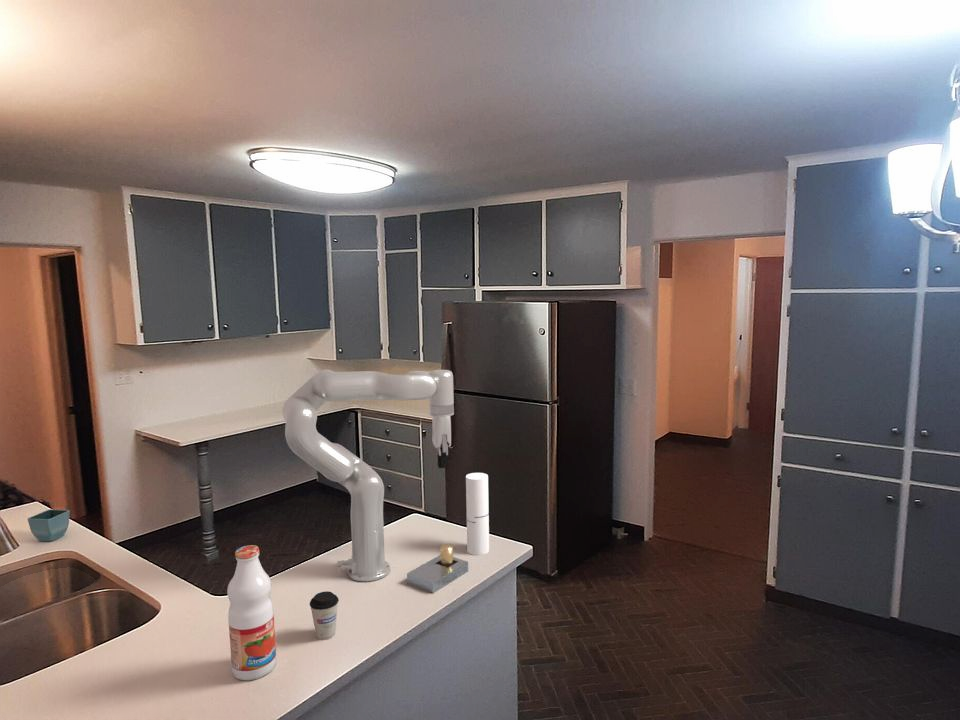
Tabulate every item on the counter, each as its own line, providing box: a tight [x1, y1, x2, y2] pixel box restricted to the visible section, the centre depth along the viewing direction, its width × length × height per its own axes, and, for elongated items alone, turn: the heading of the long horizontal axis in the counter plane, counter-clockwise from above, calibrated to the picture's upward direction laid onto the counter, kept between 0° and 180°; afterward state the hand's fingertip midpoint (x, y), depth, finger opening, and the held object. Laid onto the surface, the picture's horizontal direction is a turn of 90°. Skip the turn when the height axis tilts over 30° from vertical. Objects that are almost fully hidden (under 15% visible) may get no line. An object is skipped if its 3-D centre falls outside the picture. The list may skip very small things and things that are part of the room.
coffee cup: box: [309, 590, 340, 641], centre depth 145 cm, size 7×7×10 cm
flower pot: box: [27, 509, 70, 542], centre depth 205 cm, size 9×9×9 cm
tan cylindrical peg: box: [439, 543, 454, 568], centre depth 176 cm, size 4×4×8 cm
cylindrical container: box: [465, 472, 490, 556], centre depth 190 cm, size 7×7×25 cm
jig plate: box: [406, 554, 469, 594], centre depth 173 cm, size 16×10×3 cm, turn 143°
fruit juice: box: [226, 544, 277, 681], centre depth 131 cm, size 9×9×28 cm
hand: (443, 467), depth 185 cm, fingers closed
